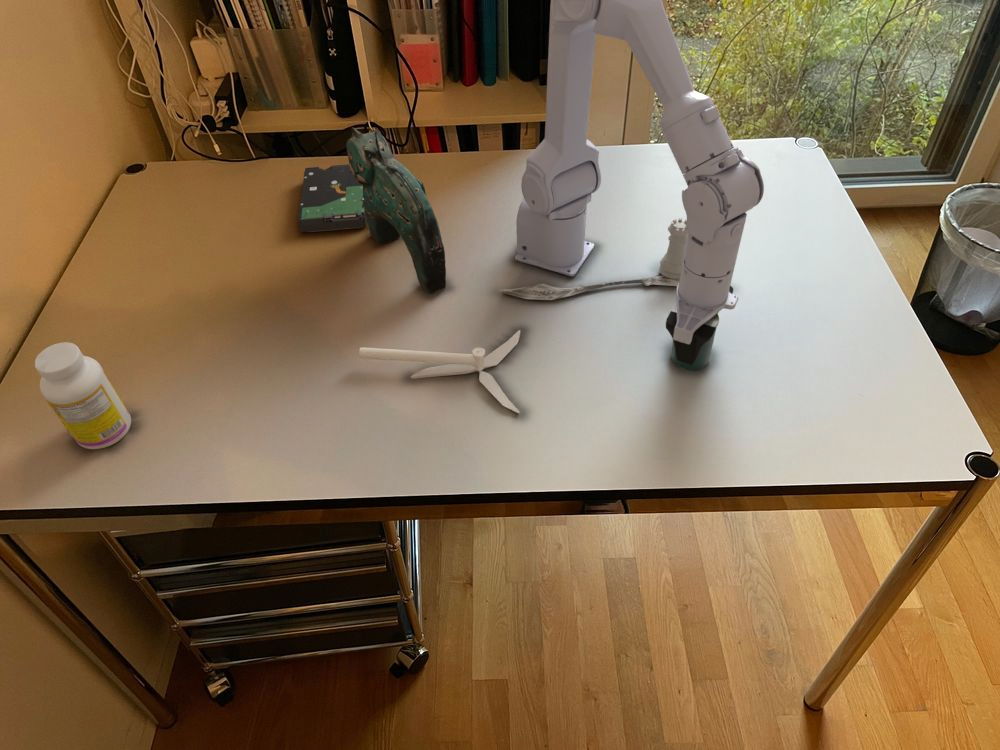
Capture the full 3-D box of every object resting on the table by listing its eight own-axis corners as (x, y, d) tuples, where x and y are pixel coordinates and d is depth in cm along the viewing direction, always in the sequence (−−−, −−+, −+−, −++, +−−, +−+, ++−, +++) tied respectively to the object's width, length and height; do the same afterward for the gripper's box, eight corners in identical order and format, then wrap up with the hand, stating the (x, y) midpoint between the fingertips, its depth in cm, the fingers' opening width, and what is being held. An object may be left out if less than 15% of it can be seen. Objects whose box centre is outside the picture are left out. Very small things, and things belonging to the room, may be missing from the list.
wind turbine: (344, 382, 93) (518, 393, 91) (372, 304, 103) (530, 312, 101) (349, 403, 96) (519, 415, 94) (377, 325, 106) (530, 334, 104)
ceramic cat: (359, 233, 120) (334, 112, 105) (396, 218, 122) (376, 98, 108) (421, 303, 108) (403, 178, 94) (461, 285, 111) (449, 161, 96)
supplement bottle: (84, 411, 97) (35, 337, 87) (138, 407, 97) (95, 332, 88) (69, 454, 92) (15, 381, 83) (125, 449, 92) (79, 375, 83)
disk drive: (307, 182, 130) (301, 234, 120) (303, 167, 128) (297, 219, 118) (369, 176, 131) (368, 228, 121) (366, 161, 129) (365, 212, 119)
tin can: (664, 363, 99) (671, 323, 94) (677, 338, 102) (684, 298, 97) (703, 375, 97) (712, 335, 92) (714, 350, 100) (724, 309, 95)
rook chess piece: (692, 266, 111) (700, 217, 106) (687, 283, 108) (694, 233, 103) (661, 261, 113) (667, 212, 107) (655, 278, 110) (661, 229, 104)
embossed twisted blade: (731, 289, 108) (720, 267, 111) (731, 286, 107) (721, 264, 111) (500, 312, 106) (497, 288, 110) (500, 309, 106) (497, 285, 109)
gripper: (725, 311, 82) (705, 396, 92) (761, 235, 91) (739, 320, 101) (661, 292, 85) (648, 377, 95) (702, 220, 93) (686, 305, 103)
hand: (691, 347), depth 98 cm, fingers closed on tin can, 5 cm apart
